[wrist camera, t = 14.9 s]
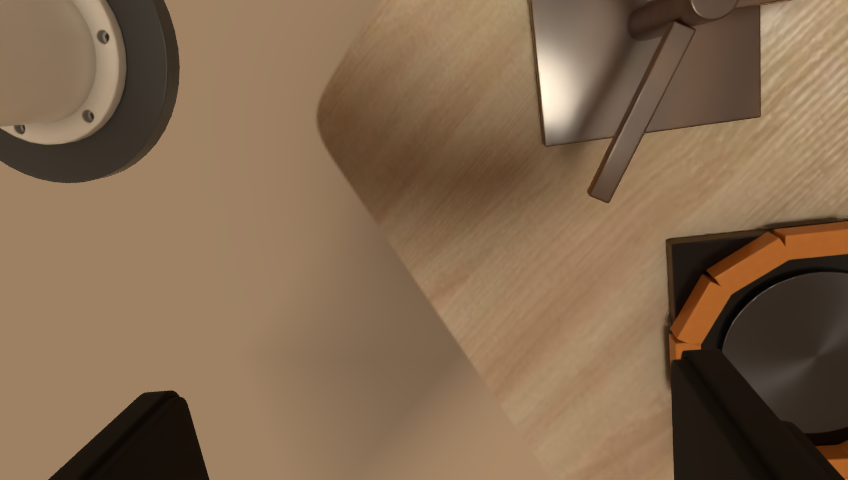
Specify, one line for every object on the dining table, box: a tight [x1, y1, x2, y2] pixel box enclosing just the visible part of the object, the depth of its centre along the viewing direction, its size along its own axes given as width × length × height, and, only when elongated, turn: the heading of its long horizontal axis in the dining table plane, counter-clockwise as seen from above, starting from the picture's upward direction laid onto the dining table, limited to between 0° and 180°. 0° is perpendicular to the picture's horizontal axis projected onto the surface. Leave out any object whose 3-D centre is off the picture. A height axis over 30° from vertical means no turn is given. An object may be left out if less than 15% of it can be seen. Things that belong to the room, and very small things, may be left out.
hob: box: [667, 220, 848, 446], centre depth 35 cm, size 16×16×2 cm
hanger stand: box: [529, 0, 790, 203], centre depth 26 cm, size 15×16×12 cm
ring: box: [669, 221, 848, 479], centre depth 34 cm, size 16×16×2 cm
